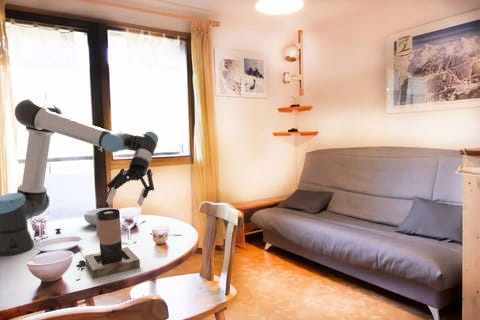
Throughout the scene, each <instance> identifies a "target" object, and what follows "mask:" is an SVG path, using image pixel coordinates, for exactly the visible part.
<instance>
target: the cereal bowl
mask: <svg viewBox="0 0 480 320" xmlns="http://www.w3.org/2000/svg"><path fill="white" fill-rule="evenodd" d="M107 209H117V208H116V207H102V208H100V207H99V208H95V209H91V210H87V211H84V212H83V217H84V221H86V223H88V224H90V225H93V226H95V227H97V226H96V213H97V212H100V211H102V210H107Z"/></svg>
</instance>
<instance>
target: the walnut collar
mask: <svg viewBox="0 0 480 320" xmlns="http://www.w3.org/2000/svg"><path fill="white" fill-rule="evenodd" d="M84 261H85V262H84V263H85V266H86V267H87V269H88V271H89V272H90V274H91V277H92V279H97V278H102V277H105V276H109V275H113V274H118V273H123V272H125V271H130V270H131V271H132V270H135V269H138V268H141V263H140V262H141V261H140V258H139V257H138V256H137V255H136V254H135V253H134V252H133V251H132V250H131V248H129V246H126V247H122V261H119V262H115V263H110V264H106V265H102V262H101V252H97V253H92V254H88V255H85V256H84Z"/></svg>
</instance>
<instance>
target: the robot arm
mask: <svg viewBox="0 0 480 320" xmlns="http://www.w3.org/2000/svg"><path fill="white" fill-rule="evenodd" d="M14 116H15V119H16V120H17V121H18V123H19V124H21V125H22V126H24V127H25V129H26V131H27V132H28V138H27V139H28V140H27V146H26V154H25V160H24V168H23V175H22V183H21V184H20V185H19V186H17V190H16V192H11V193H7V194H3V195H0V257H5V256H13V255H18V254H21V253H25V252H27V251H29V250H32V249H33V248H34V247H35V246H34V245H35V244H34V239H33V238H32V235H31V232H30V231H29V227H28V220H30V219H32V218H34V217H38V216H40V215H42V214H43V213H44V212H46V210H48V208H49V206H50V202H51V200H50V196H49V195H48V193H47V191H48V190H47V188H46V187H45V178H46V171H47V167H48V166H47V165H48V158H49V151H50V143H51V137H52V136H53V135H54V134H59V135H62V136H65V137H68V138H71V139H75V140H76V141H77V140H78V141H81V142H83V143H88V144H90V145H93V146H97V147H100V148H102V149H104V151H106V152H109V153H117V152H120V151H125V150H127V151H133V152H134V154H133V156H132V159H131V161H130V163H129V167H128V169H125V168H121V169H120V171H119V172H118V173H117V174H116V175H115V176H114V177H113V178H112V179H111V180H110V181H109V182H108V183H107V184H106V186H107V188H108V189H109V191H108V192H107V199H106V200H105V201H106V203H107V204H108V205H112V202H113V201H114V198H115V196H116V194H117V190H118V189H119V188H121V187H122V186H123V185H125V184H126V183H127V182H130V181H139V180H140V182H141V183H142V184H141V185H143V188H142V189H141V190H140V191H141V192H140V194H139V196H138V199H137V204H138V205H139V207H142V206H143V203H144V200H145V199H147V197H148V194H149V192H150V191H155V185H154V180H153V171H152V170H151V168H149V167H150V163H151V161H152V159H153V156H154V153H155V150H156V148H157V145H158V142H159V137H158V135H157V134H156V133H155V132H154V131H150V130H148V131H144V132H143V133H142V134H135V133H131V132H130V133H129V132H126V131H119V130H115V131H110V130H108V129H104V128H101V127H99V126H95V125H93V124H88V123H86V122H83V121H80V120H76V119H74V118H71V117H68V116H65V115H63V114H62V111H61V109H60V107H59V106H58V105H57V104H55V103H54V102H52V101H48V100H43V99H41V100H39V99H32V98H31V99H30V98H29V99H28V98H27V99H24V100H21V101H20V102H18V104H17V105H15V108H14ZM144 176H147V182H148V184H147V182H146V181H145V179H144Z"/></svg>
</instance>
